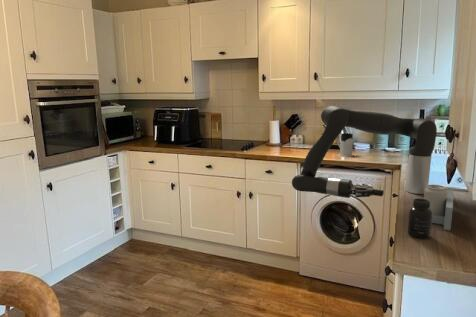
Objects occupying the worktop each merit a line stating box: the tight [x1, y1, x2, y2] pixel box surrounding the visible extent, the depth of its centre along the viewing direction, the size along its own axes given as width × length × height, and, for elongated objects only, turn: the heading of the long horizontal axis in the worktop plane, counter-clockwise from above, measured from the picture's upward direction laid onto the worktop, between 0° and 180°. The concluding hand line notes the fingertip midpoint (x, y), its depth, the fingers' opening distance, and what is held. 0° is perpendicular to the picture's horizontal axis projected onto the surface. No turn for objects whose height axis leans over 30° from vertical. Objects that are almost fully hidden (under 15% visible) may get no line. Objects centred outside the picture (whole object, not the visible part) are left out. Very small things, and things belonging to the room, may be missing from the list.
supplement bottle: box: [407, 198, 433, 240], centre depth 121 cm, size 7×7×12 cm
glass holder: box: [336, 132, 354, 158], centre depth 256 cm, size 9×14×15 cm, turn 24°
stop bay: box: [432, 189, 454, 231], centre depth 137 cm, size 24×10×8 cm, turn 150°
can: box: [423, 184, 447, 217], centre depth 137 cm, size 8×8×12 cm
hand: (383, 193), depth 146 cm, fingers closed
